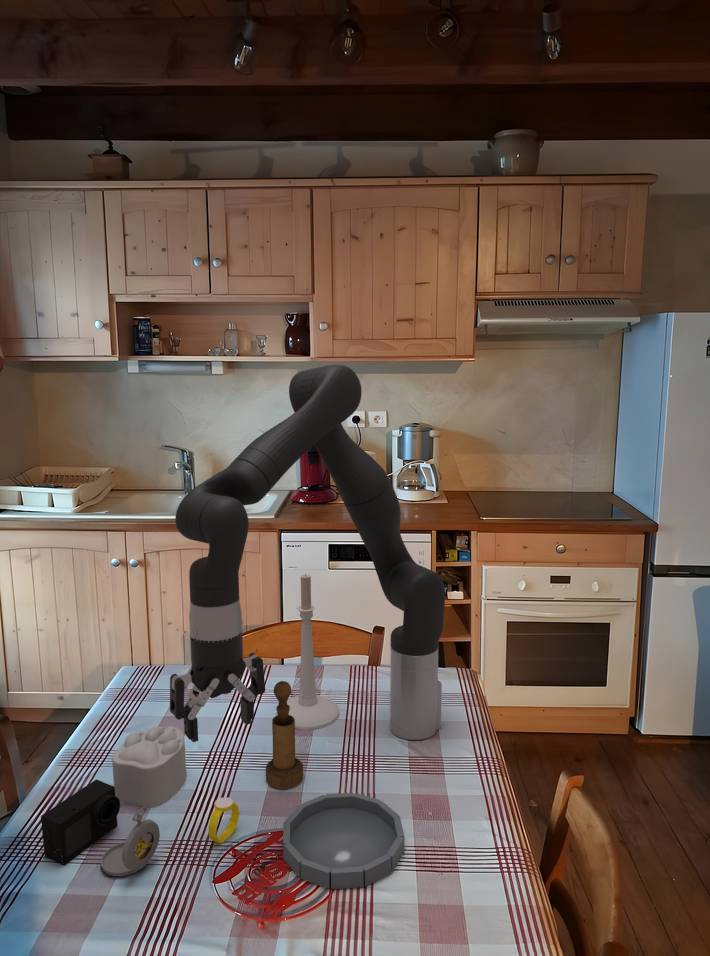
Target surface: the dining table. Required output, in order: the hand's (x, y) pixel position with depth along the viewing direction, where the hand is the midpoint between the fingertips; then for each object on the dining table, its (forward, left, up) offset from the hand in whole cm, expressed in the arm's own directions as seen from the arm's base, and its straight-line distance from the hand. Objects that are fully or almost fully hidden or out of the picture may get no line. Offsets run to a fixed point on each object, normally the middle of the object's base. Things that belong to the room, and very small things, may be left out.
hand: (220, 730), depth 108 cm
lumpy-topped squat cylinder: (+4, -20, -18) cm, 27 cm away
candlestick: (-30, -25, -18) cm, 43 cm away
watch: (0, 0, -18) cm, 18 cm away
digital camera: (+18, -11, -18) cm, 28 cm away
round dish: (-14, +12, -18) cm, 26 cm away
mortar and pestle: (-15, -8, -18) cm, 25 cm away
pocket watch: (+14, -2, -18) cm, 23 cm away
